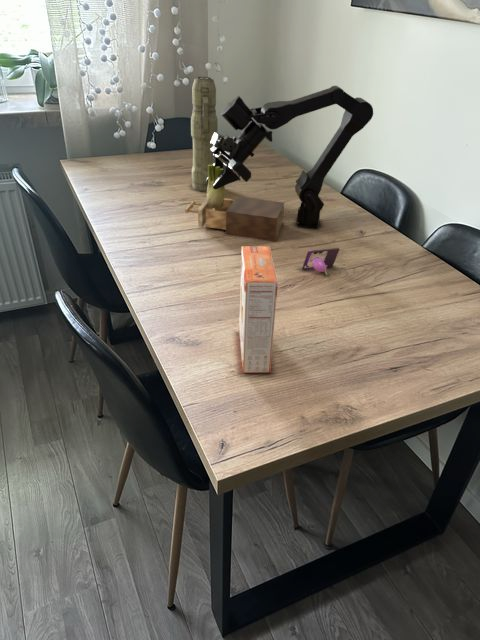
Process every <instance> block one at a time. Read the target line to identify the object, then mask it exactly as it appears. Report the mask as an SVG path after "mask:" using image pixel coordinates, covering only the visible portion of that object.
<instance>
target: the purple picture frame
mask: <svg viewBox="0 0 480 640" xmlns="http://www.w3.org/2000/svg"><path fill="white" fill-rule="evenodd" d="M324 252H326V253H325V256H324V258H322V257H319V256H316V257H313V258H312V259H311V260H310V258H311V257H312V255H317V254H318V255H320V254H321V255H322V254H323V253H324ZM339 252H340V248H339V247H336V248H335V247H334V248H325V249H324V248H323V249H316V250H315V249H313V250H307V253H306V256H305V259H304V261H303V265H302V268H301V269H302V270H303V271H305V270H306V271H307V270H315V271H316V272H319V273H324V274H325V276H328V272H327V268H332V267H333V266H334V264H335V262H336V259H337V257H338V255H339ZM309 262H311V263H312V266H310V267H309V265H308V264H309Z"/></svg>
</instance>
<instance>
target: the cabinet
mask: <svg viewBox="0 0 480 640" xmlns="http://www.w3.org/2000/svg"><path fill="white" fill-rule="evenodd" d="M233 200H234V201H233V202H232V204H231V205H230V207H229V208H228V210H227V211H226V230H225V235H230V236H237V237H245V238H251V239H258V240H265V241H271V242H272V241H273V242H276V240H277V238H278V235H279V233H280V230H281V228H282V226H283V221H284V211H285V210H284V209H285V202H282V201H275V200H267V199H260V198H252V197H245V196H238V195H236V196H235V198H234V199H233Z"/></svg>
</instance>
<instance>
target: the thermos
mask: <svg viewBox="0 0 480 640" xmlns="http://www.w3.org/2000/svg"><path fill="white" fill-rule="evenodd" d="M191 92H192V93H191V101H192V103H191V104H192V113H191V117H190V136H191V138H192V166H191V181H192V184H191V185H192V189H193V190H194V191H196V192H197V191H198V192H204V193H207V186H208V182H207V181H206V180H207V178H208V165H213V164H214V160H213V154H214V153H213V152H212V151H211V150H210V148H211V147H212V146H213V144H211V143H210V142H211V139H212V137H213V134H214V132H216V133H219V132H218V129H219V128H218V123H219V122H218V121H219V119H218V116H217V110H216V106H217V87H216V84H215V80H214V79H213V78H212V77H210V76H197V77H195V78H194V79H193V83H192V87H191ZM214 155H215V154H214Z"/></svg>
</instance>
